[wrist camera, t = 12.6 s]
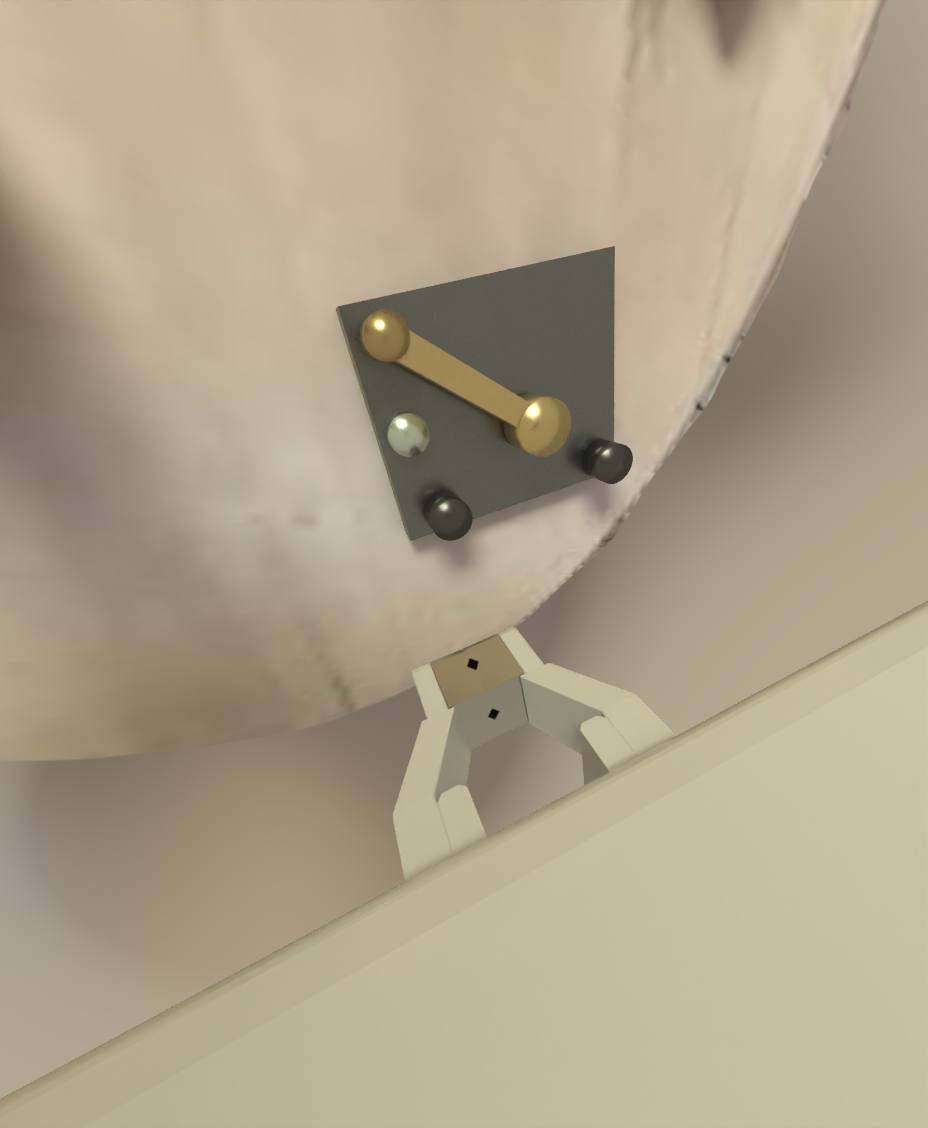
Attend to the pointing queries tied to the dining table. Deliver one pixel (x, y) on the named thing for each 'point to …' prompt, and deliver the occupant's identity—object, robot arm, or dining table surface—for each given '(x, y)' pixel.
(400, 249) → the dining table surface
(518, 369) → the base
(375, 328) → the lever
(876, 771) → the robot arm
